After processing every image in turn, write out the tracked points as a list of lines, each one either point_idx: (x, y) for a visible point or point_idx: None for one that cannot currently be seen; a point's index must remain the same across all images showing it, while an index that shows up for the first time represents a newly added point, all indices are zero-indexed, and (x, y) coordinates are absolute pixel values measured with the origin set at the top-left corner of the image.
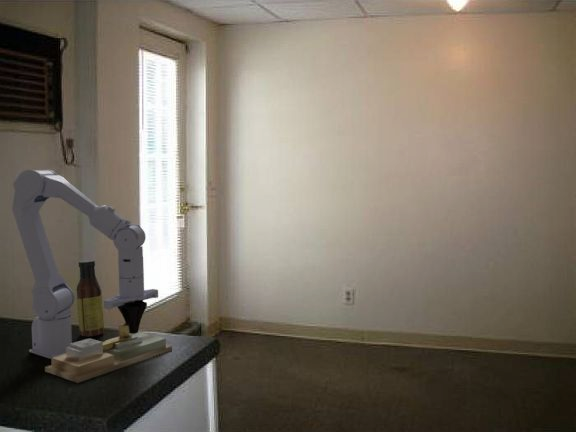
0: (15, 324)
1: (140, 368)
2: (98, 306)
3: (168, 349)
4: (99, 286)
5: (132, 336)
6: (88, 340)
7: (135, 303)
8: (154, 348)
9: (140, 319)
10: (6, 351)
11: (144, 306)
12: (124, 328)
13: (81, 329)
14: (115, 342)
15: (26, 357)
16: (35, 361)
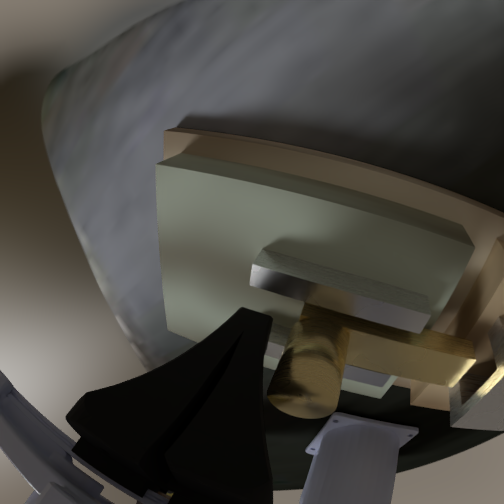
0: None
1: (460, 105)
2: None
3: (189, 130)
4: (137, 502)
5: None
6: (483, 415)
7: (149, 480)
8: (247, 168)
9: (191, 353)
10: None
11: (107, 413)
12: (332, 377)
13: None
14: (405, 339)
15: (405, 455)
16: (431, 438)
